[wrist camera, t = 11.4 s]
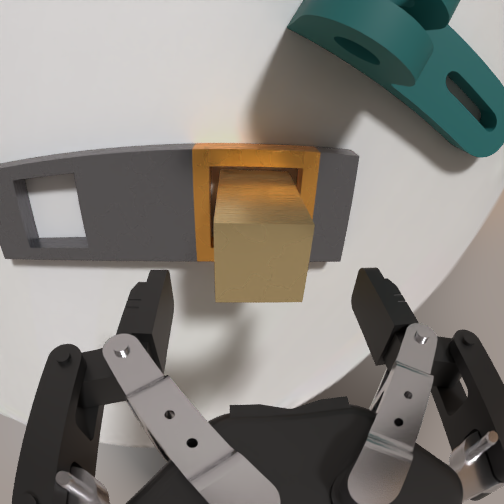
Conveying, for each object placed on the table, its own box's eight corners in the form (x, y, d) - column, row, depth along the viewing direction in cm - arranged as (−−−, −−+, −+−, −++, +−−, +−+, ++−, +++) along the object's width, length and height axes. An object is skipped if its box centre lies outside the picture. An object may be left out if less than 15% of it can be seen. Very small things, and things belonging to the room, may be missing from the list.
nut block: (220, 169, 21) (213, 223, 14) (287, 171, 21) (314, 224, 14) (220, 229, 23) (215, 302, 16) (282, 230, 23) (302, 302, 17)
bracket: (285, 28, 16) (316, 3, 9) (332, -43, 13) (378, -88, 6) (470, 163, 21) (533, 204, 14) (503, 103, 18) (570, 129, 11)
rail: (-9, 165, 18) (-20, 172, 17) (350, 149, 20) (359, 156, 19) (13, 249, 23) (5, 258, 21) (334, 250, 24) (340, 261, 23)
